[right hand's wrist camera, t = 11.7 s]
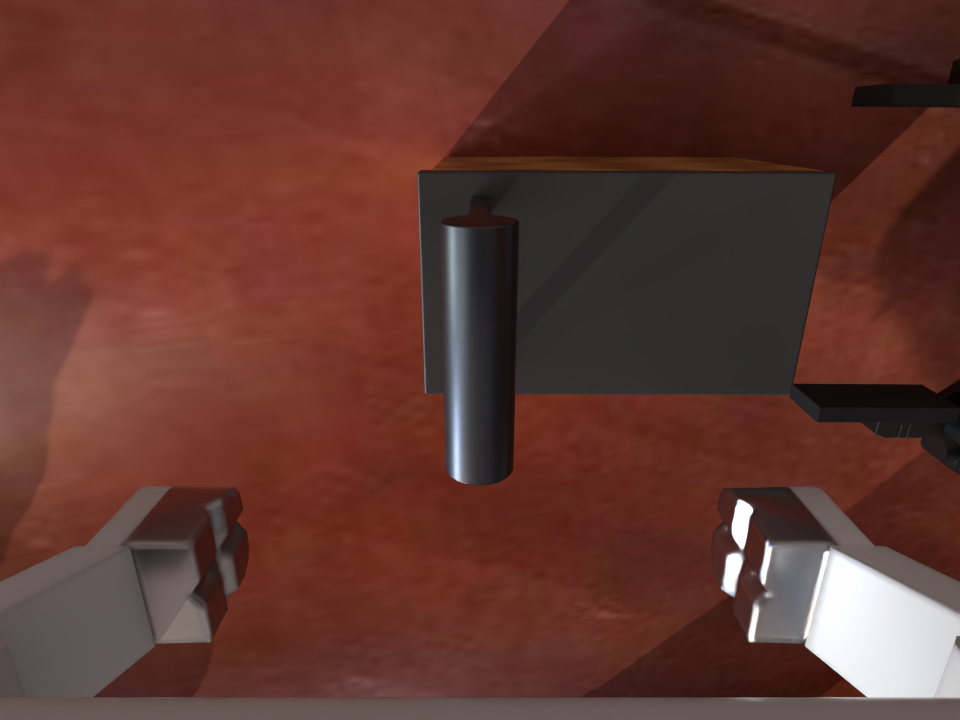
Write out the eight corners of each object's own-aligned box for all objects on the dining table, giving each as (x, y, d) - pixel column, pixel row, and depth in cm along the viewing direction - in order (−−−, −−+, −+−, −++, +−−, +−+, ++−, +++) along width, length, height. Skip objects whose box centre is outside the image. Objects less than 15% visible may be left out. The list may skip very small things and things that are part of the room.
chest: (447, 320, 35) (436, 386, 27) (444, 156, 32) (430, 169, 23) (707, 321, 35) (781, 387, 26) (731, 157, 32) (825, 170, 23)
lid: (426, 386, 26) (401, 506, 18) (419, 170, 23) (384, 197, 15) (782, 387, 26) (917, 507, 18) (825, 170, 23) (1014, 198, 15)
